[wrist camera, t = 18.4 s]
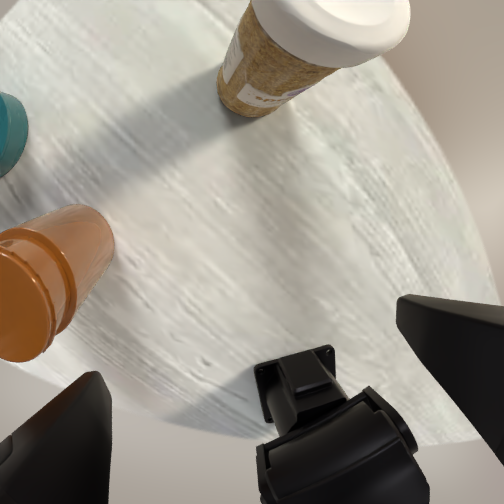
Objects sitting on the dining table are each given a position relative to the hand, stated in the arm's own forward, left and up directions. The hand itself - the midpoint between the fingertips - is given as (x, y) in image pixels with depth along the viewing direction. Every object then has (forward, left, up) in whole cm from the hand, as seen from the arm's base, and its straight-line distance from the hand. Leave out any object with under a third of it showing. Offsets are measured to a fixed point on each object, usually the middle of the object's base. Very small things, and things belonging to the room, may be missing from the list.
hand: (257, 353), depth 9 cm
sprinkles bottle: (+10, -4, -13) cm, 17 cm away
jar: (+2, +9, -13) cm, 16 cm away
